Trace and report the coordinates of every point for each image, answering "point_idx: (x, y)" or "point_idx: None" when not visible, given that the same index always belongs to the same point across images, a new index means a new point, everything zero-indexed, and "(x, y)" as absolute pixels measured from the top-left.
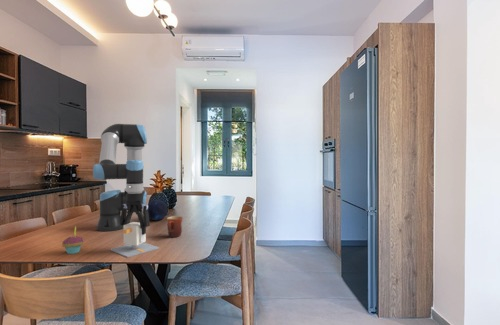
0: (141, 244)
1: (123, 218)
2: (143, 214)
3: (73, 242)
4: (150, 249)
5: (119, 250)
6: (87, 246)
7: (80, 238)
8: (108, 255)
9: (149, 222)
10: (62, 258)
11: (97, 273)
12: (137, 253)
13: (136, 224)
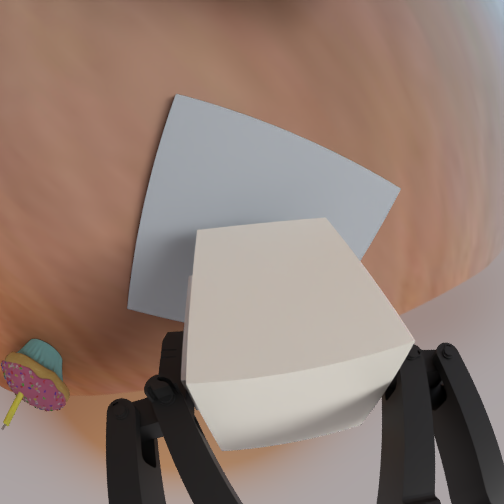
0: (242, 164)
1: (160, 487)
2: (447, 476)
3: (63, 406)
4: (367, 237)
5: None
6: (3, 292)
7: (40, 392)
8: None
9: (464, 365)
10: (90, 389)
11: None
12: None
13: (334, 415)
